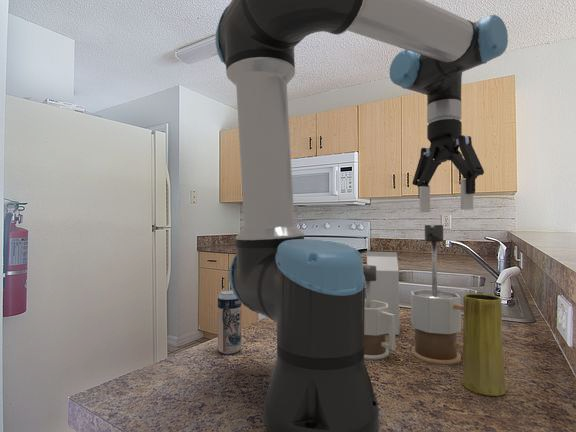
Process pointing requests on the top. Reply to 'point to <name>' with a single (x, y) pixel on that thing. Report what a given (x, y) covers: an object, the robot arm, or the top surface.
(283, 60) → the robot arm
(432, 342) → the press copper
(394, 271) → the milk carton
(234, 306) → the beer can
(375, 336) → the press cream
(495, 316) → the vase
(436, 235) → the plunger
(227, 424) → the top surface
